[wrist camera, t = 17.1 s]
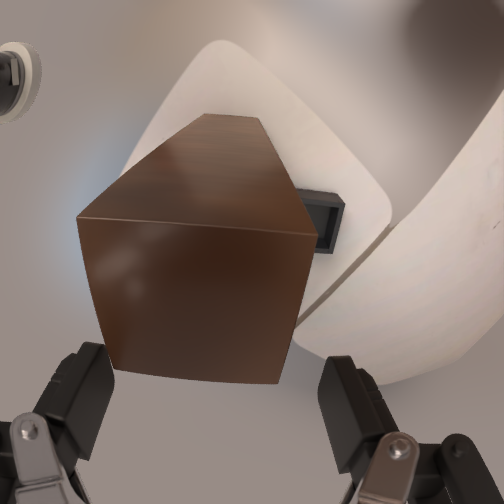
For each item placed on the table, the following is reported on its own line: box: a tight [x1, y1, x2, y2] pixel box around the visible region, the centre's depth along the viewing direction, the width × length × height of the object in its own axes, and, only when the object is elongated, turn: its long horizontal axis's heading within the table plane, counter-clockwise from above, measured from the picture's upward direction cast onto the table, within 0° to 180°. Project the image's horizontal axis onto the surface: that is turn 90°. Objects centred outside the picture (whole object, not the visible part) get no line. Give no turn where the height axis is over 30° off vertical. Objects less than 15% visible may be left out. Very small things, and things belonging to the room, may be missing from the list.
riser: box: [76, 114, 318, 384], centre depth 19 cm, size 6×6×26 cm
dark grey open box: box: [296, 189, 345, 254], centre depth 33 cm, size 12×6×3 cm, turn 84°
